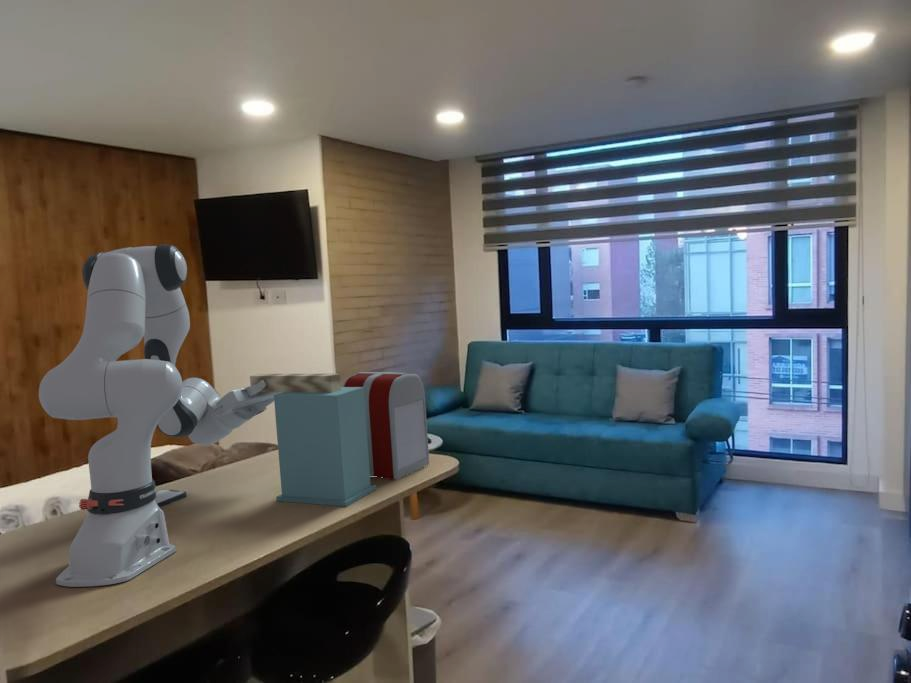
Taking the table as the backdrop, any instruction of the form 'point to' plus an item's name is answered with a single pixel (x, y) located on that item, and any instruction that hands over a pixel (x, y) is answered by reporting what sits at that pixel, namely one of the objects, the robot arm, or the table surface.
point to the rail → (298, 382)
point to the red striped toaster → (394, 422)
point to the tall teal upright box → (323, 446)
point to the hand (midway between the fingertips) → (272, 381)
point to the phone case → (168, 496)
